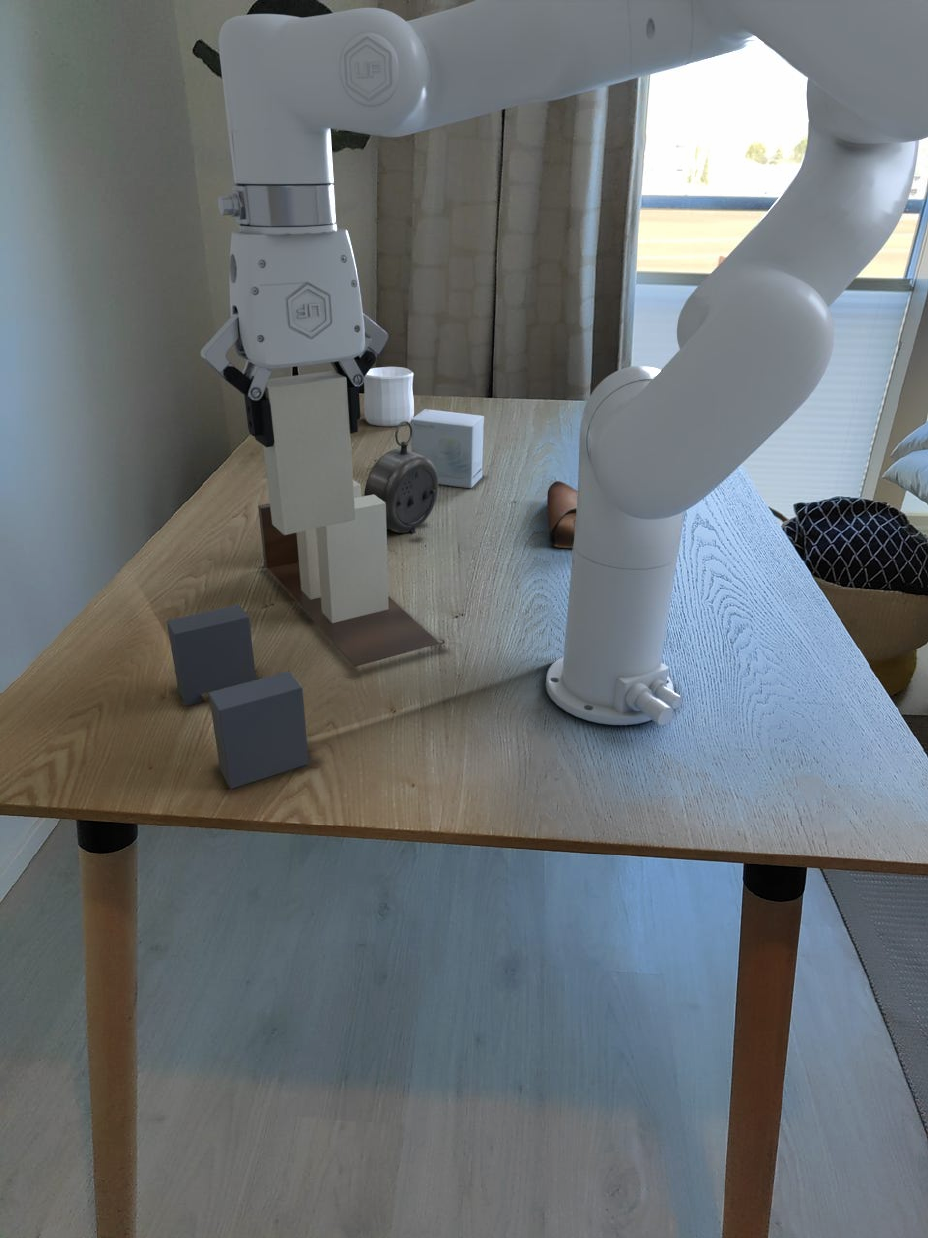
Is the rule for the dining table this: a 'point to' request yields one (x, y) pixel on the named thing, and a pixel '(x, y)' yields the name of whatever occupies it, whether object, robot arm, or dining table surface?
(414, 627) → the book rack
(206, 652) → the grey book
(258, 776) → the grey book
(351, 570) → the cream book
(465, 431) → the cosmetics box
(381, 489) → the alarm clock
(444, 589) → the dining table surface
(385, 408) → the cup
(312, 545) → the cream book
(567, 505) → the sunglasses case
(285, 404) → the cream book
